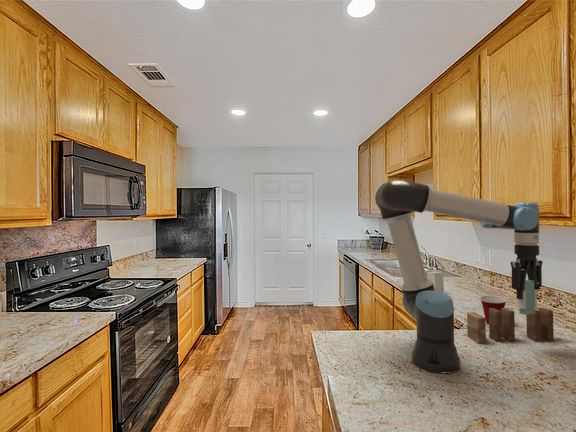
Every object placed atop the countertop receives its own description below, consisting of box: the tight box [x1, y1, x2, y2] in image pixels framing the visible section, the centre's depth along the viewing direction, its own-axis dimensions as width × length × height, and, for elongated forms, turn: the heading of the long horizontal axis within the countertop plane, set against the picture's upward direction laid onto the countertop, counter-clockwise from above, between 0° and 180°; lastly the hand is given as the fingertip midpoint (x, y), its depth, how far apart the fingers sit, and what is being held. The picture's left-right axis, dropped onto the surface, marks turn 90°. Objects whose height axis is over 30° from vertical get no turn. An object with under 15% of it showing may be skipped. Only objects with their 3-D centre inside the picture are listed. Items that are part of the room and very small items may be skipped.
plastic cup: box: [479, 294, 508, 325], centre depth 154 cm, size 11×11×12 cm
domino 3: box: [518, 279, 536, 316], centre depth 125 cm, size 2×5×12 cm, turn 109°
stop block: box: [466, 311, 487, 345], centre depth 135 cm, size 3×8×10 cm, turn 179°
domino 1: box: [488, 308, 503, 343], centre depth 135 cm, size 2×5×12 cm, turn 179°
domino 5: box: [538, 307, 555, 343], centre depth 134 cm, size 2×5×12 cm, turn 179°
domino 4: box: [525, 308, 542, 343], centre depth 134 cm, size 2×5×12 cm, turn 179°
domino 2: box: [501, 307, 516, 343], centre depth 135 cm, size 2×5×12 cm, turn 179°
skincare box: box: [426, 270, 445, 293], centre depth 208 cm, size 8×6×15 cm
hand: (526, 307), depth 125 cm, fingers closed on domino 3, 5 cm apart
